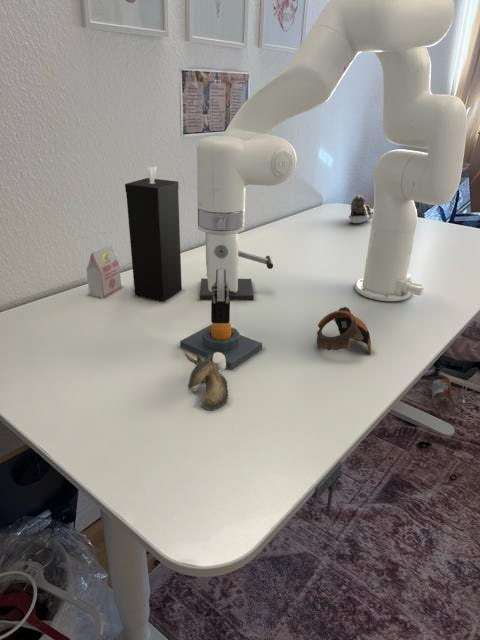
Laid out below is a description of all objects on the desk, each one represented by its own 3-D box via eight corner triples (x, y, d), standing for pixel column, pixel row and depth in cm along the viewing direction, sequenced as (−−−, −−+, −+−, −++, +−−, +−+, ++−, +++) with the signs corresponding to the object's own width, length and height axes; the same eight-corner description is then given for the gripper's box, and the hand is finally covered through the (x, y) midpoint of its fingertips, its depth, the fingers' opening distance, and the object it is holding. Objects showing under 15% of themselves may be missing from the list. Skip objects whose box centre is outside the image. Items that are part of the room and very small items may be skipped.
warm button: (235, 335, 87) (235, 325, 86) (222, 342, 84) (222, 332, 83) (219, 329, 88) (219, 319, 88) (207, 336, 86) (206, 326, 85)
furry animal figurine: (172, 374, 77) (176, 397, 69) (194, 337, 76) (201, 356, 68) (212, 393, 80) (220, 418, 71) (234, 357, 79) (245, 379, 70)
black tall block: (182, 290, 111) (178, 165, 98) (163, 302, 105) (156, 170, 92) (153, 284, 114) (146, 161, 101) (134, 296, 107) (123, 167, 95)
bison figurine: (356, 217, 174) (360, 189, 170) (375, 220, 171) (379, 191, 166) (345, 224, 165) (348, 195, 161) (364, 228, 162) (369, 198, 157)
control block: (262, 349, 87) (262, 334, 86) (231, 369, 81) (231, 354, 80) (212, 329, 94) (212, 315, 93) (180, 347, 87) (179, 332, 86)
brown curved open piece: (378, 365, 84) (364, 333, 79) (327, 378, 87) (311, 349, 83) (370, 320, 93) (356, 289, 88) (323, 334, 96) (308, 305, 92)
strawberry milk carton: (89, 295, 107) (84, 252, 103) (108, 284, 113) (104, 244, 109) (103, 298, 106) (98, 255, 102) (121, 287, 112) (117, 246, 107)
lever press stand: (250, 283, 116) (252, 235, 110) (253, 300, 107) (255, 249, 102) (201, 283, 115) (200, 235, 110) (199, 300, 106) (198, 249, 101)
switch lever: (269, 264, 111) (272, 254, 110) (271, 271, 107) (274, 261, 106) (219, 249, 109) (222, 239, 108) (219, 256, 105) (222, 246, 104)
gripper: (246, 232, 70) (243, 341, 78) (242, 208, 84) (240, 304, 92) (195, 231, 70) (197, 341, 78) (199, 207, 83) (200, 303, 91)
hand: (220, 321), depth 85 cm, fingers closed
